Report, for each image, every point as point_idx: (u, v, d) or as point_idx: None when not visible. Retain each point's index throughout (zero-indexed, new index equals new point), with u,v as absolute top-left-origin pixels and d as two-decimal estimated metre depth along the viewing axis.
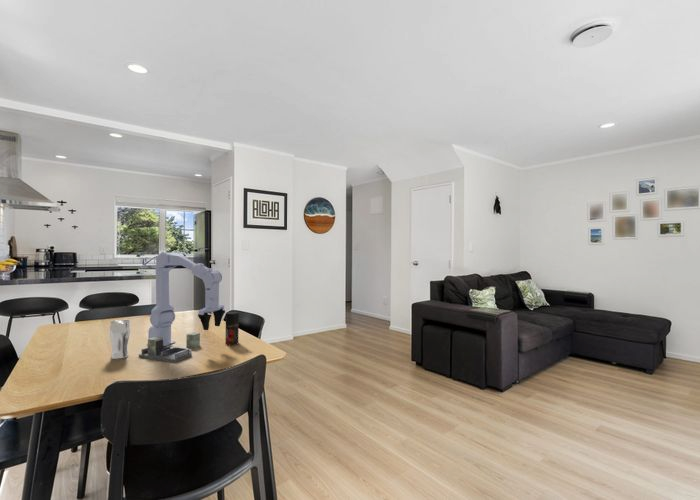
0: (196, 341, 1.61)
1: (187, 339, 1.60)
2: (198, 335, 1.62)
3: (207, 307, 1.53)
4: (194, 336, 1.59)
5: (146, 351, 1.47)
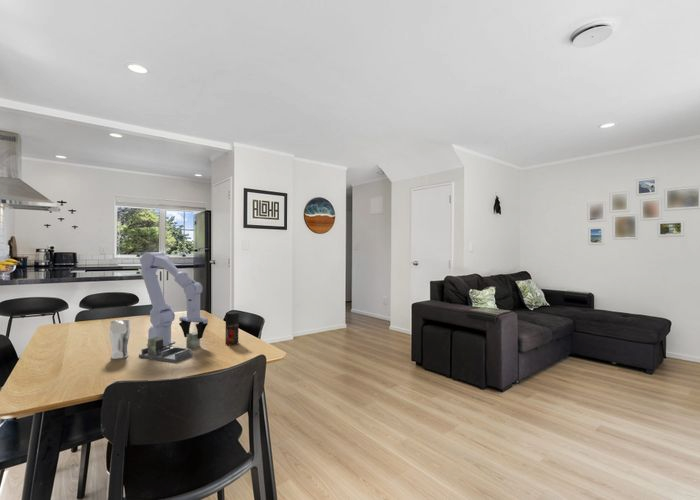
0: (196, 341, 1.61)
1: (187, 339, 1.60)
2: None
3: None
4: (194, 336, 1.59)
5: (146, 351, 1.47)
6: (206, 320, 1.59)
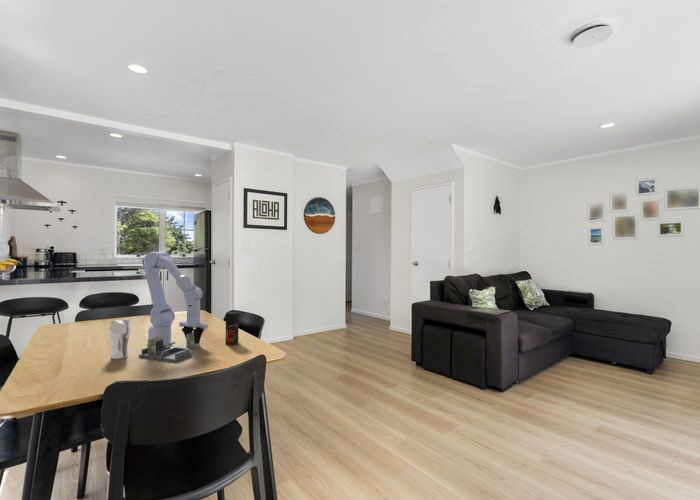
0: None
1: (187, 339, 1.60)
2: None
3: None
4: None
5: (146, 351, 1.47)
6: (206, 326, 1.59)
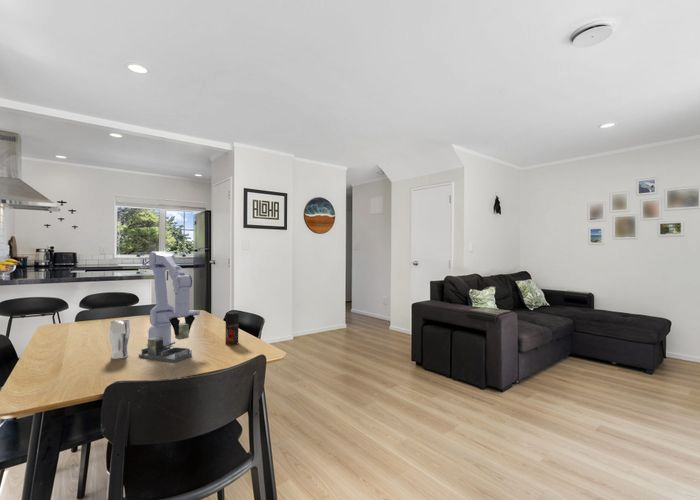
0: None
1: (180, 330, 1.47)
2: None
3: (175, 312, 1.47)
4: None
5: (146, 351, 1.47)
6: None
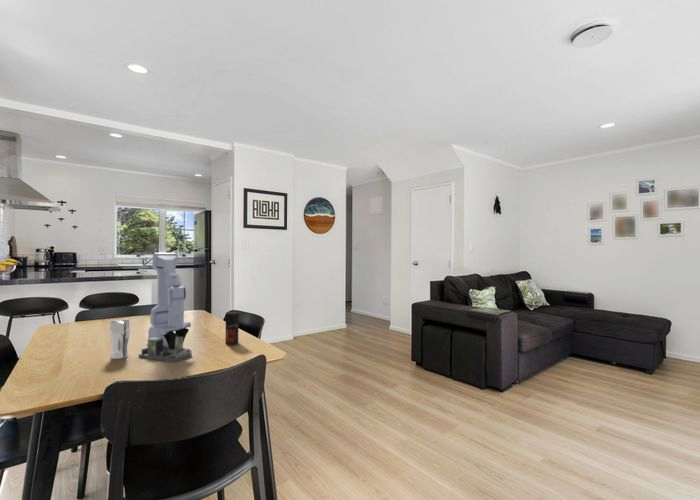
0: None
1: (176, 344, 1.42)
2: None
3: (170, 326, 1.42)
4: None
5: (146, 351, 1.47)
6: None
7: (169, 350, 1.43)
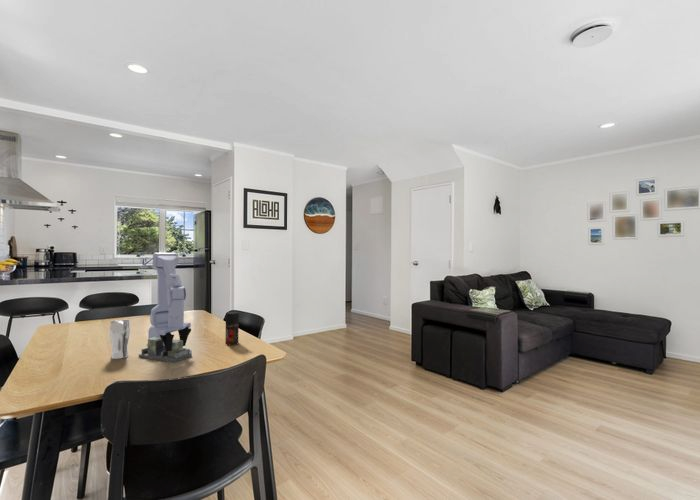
0: None
1: (176, 347, 1.42)
2: None
3: (170, 326, 1.42)
4: None
5: (146, 351, 1.47)
6: None
7: (169, 353, 1.43)
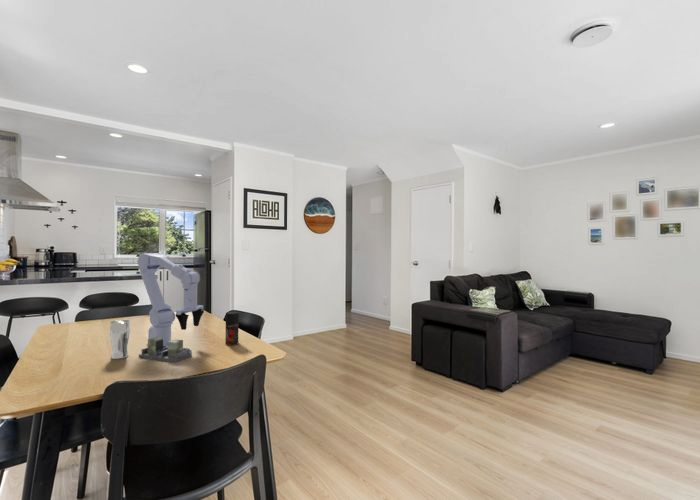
0: None
1: (176, 347, 1.42)
2: None
3: (185, 307, 1.56)
4: None
5: (146, 351, 1.47)
6: None
7: (169, 353, 1.43)
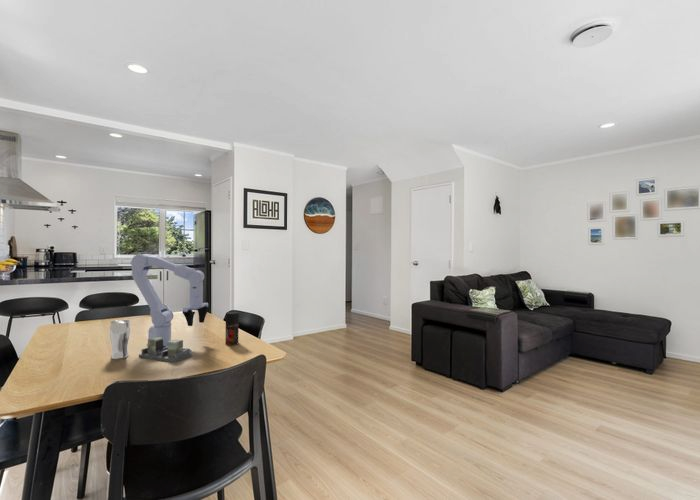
0: None
1: (176, 347, 1.42)
2: None
3: (191, 304, 1.63)
4: None
5: (146, 351, 1.47)
6: None
7: (169, 353, 1.43)
